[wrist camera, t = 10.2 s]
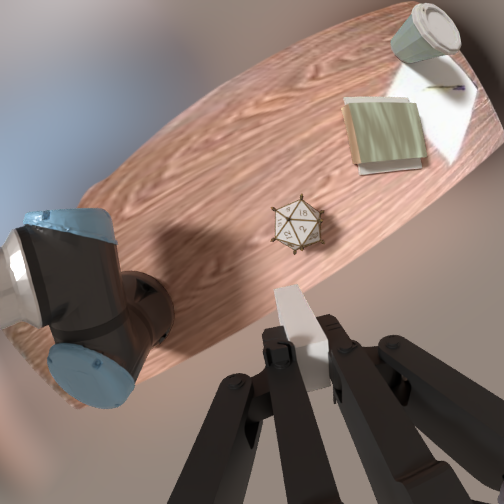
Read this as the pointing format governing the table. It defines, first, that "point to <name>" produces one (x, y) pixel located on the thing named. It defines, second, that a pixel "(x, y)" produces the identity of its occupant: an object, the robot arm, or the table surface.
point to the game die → (297, 225)
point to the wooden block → (383, 131)
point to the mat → (388, 164)
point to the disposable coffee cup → (426, 35)
